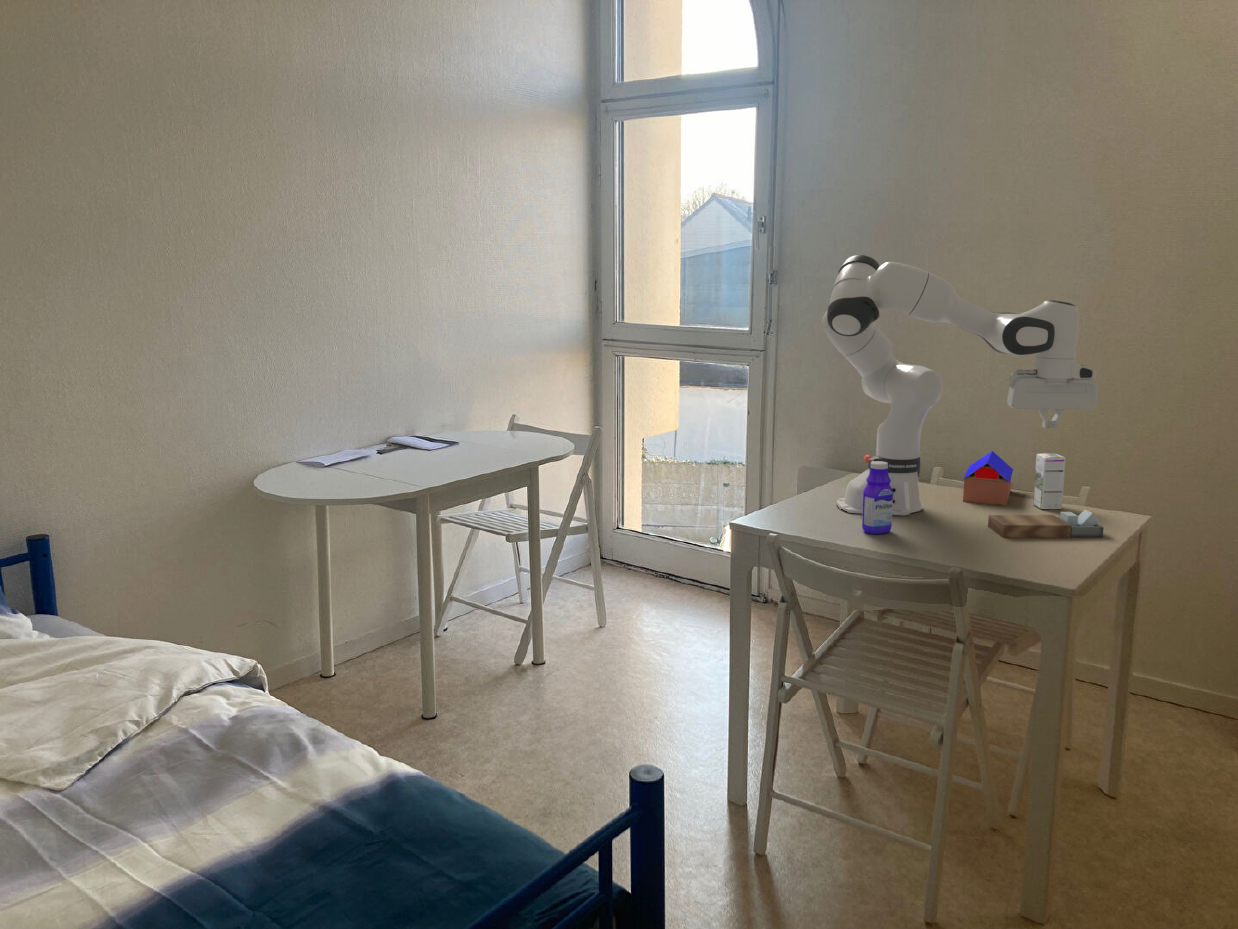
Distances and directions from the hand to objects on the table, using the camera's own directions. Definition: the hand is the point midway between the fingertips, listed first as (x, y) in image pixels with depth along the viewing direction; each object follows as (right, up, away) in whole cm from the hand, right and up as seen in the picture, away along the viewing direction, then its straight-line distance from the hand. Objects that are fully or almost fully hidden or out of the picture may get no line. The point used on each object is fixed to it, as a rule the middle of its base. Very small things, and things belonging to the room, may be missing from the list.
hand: (1049, 427), depth 227 cm
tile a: (+10, -22, +4) cm, 24 cm away
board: (-3, -25, +5) cm, 26 cm away
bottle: (-40, -26, +6) cm, 48 cm away
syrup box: (+13, -21, +29) cm, 38 cm away
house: (+2, -18, +43) cm, 47 cm away
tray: (+9, -25, +5) cm, 27 cm away
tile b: (+8, -23, +4) cm, 25 cm away
